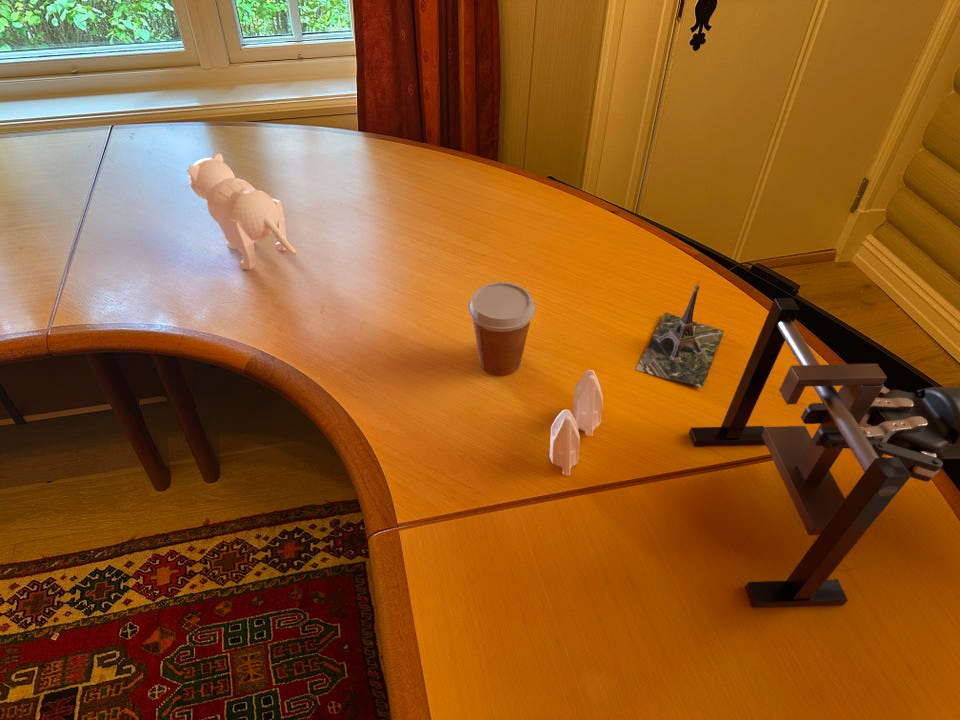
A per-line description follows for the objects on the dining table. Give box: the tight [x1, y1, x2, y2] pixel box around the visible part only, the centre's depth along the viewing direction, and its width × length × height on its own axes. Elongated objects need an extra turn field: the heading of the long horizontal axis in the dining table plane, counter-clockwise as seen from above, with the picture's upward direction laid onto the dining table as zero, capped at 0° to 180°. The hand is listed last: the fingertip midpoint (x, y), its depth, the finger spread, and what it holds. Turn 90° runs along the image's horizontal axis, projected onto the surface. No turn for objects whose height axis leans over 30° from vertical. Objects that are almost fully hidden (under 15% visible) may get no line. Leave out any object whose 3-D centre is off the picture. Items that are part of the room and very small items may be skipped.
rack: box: [688, 297, 912, 609], centre depth 66 cm, size 24×10×23 cm, turn 2°
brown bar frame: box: [761, 363, 888, 536], centre depth 64 cm, size 10×14×18 cm
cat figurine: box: [180, 152, 298, 271], centre depth 110 cm, size 25×10×17 cm, turn 56°
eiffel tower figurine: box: [634, 280, 725, 388], centre depth 90 cm, size 15×10×13 cm
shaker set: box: [548, 369, 604, 477], centre depth 78 cm, size 12×4×11 cm, turn 148°
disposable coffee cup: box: [467, 281, 536, 377], centre depth 89 cm, size 10×10×12 cm
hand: (811, 425), depth 63 cm, fingers closed on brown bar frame, 2 cm apart
